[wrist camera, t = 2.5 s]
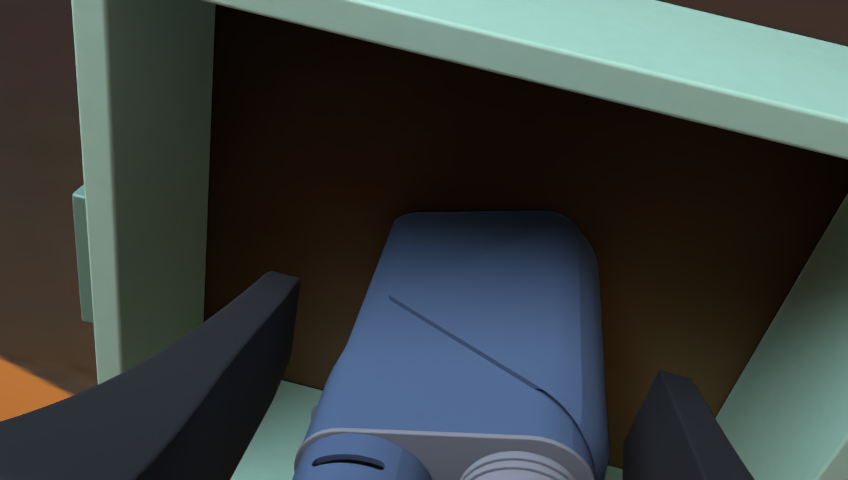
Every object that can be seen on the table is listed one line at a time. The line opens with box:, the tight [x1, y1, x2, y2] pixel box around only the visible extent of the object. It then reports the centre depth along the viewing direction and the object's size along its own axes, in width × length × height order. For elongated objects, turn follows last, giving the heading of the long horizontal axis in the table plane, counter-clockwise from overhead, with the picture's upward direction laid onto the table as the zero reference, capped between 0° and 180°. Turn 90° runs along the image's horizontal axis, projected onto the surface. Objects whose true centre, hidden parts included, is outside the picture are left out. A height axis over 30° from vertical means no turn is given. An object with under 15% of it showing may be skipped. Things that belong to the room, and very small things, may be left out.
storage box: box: [71, 0, 848, 480], centre depth 16 cm, size 13×16×4 cm
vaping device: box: [292, 210, 610, 480], centre depth 13 cm, size 3×5×12 cm, turn 96°
